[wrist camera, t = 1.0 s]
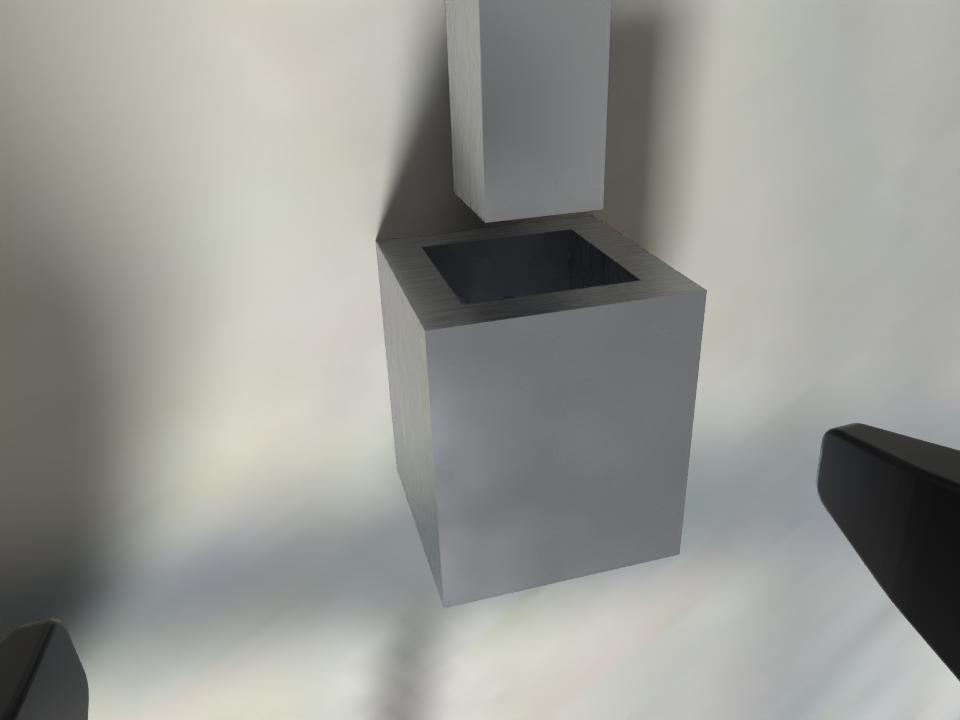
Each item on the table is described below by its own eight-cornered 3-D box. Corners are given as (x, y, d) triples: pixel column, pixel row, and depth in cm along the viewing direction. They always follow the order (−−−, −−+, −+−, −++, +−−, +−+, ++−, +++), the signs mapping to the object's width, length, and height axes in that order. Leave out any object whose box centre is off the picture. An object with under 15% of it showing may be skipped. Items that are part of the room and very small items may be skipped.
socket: (584, 432, 25) (679, 554, 19) (396, 467, 23) (443, 608, 18) (591, 214, 22) (706, 290, 16) (375, 239, 20) (424, 331, 15)
